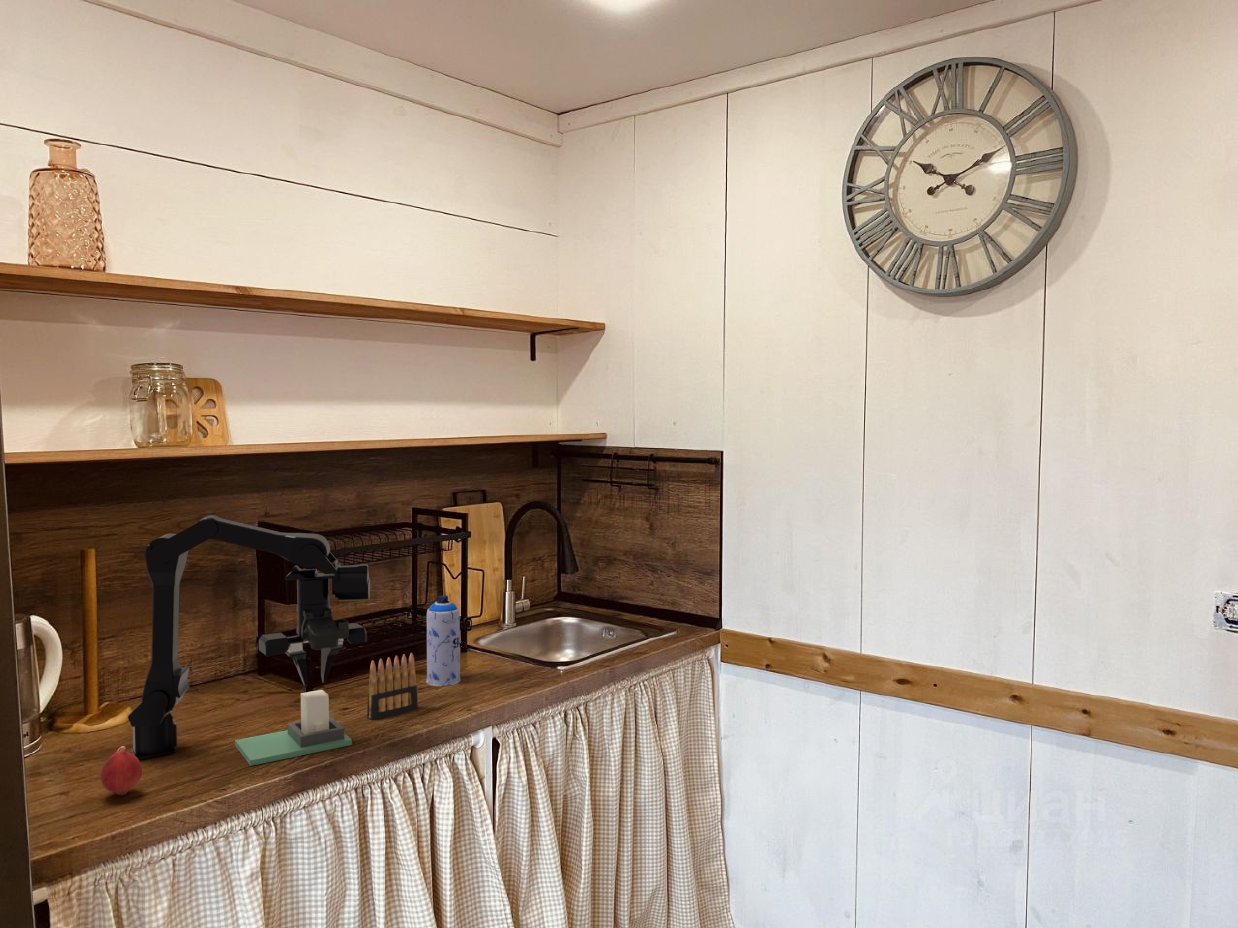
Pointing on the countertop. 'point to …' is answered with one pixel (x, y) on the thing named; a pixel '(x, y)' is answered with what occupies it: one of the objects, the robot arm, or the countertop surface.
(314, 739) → the board
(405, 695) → the ammunition clip
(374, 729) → the countertop surface
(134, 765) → the onion
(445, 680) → the aerosol can
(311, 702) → the plug
